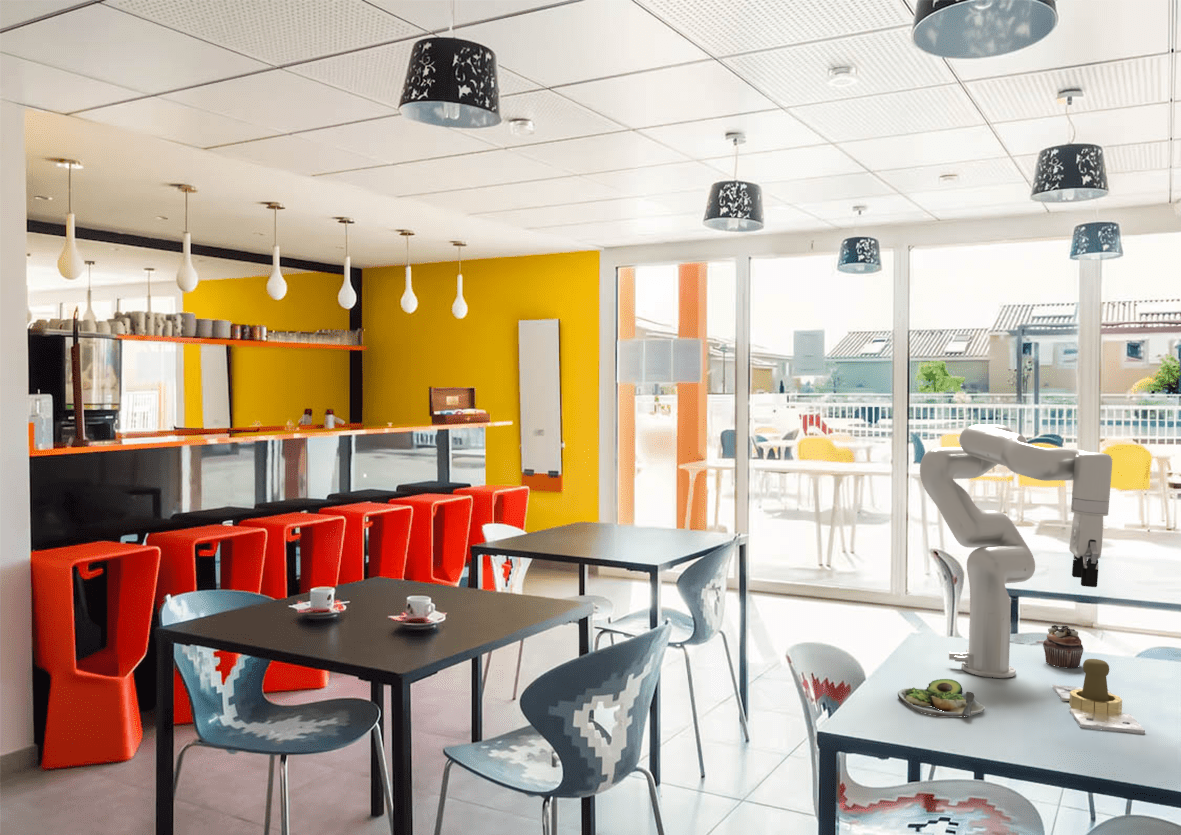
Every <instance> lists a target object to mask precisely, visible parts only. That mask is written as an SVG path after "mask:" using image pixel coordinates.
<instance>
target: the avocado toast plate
mask: <svg viewBox="0 0 1181 835" xmlns="http://www.w3.org/2000/svg"><path fill="white" fill-rule="evenodd" d="M897 697H898V699H899V700H900V701H901V702H902V703H904V704H905V705H906V704H907V705H906V706H908V707H909V708H911V709H913V710H914V711H917V712H918V711H919V713H921V712H922V713H921V714H924V713H926V714H925V715H928V714H931V715H930V716H933V715H936V716H935V717H939V716H962V717H961V718H967V717H966V716H968V717H971V716H974V715H977V714H979V713H983V712H984V711H985V708H986V707H985V706H984V704H982V703H980V702H979V701H977V700H975V693H974V692H970V691H966V692H965V691H964V692H963V686H962V684H961V683H960V682H958V681H957V680H954V679H952V678H951V679H950V678H940V679H936V680H932V681H930V682H929V683H928V686H926V688H925V689H924V688H916V687H912V688H911V687H910V688H902V689H900V690H898V691H897ZM913 704H915V705H913ZM917 705H921V706H917ZM926 706H932V707H935V708H937V709H939V710H942V711H938V710H937V709H935V710H934V709H929V708H925V707H926ZM932 707H931V708H932ZM943 711H944V712H943ZM964 716H965V717H964Z"/></svg>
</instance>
